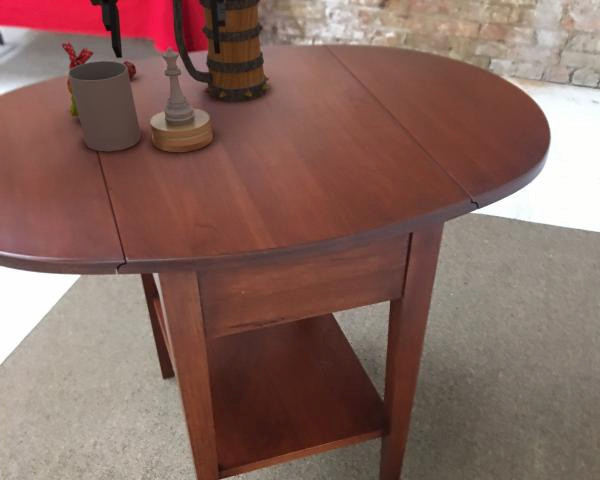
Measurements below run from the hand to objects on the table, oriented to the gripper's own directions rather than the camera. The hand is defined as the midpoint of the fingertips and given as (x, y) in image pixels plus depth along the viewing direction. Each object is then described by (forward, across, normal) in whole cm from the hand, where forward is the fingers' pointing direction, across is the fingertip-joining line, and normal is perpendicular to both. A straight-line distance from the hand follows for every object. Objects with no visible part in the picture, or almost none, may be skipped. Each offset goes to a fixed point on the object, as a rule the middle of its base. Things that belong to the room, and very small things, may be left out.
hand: (167, 50), depth 87 cm
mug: (-6, -7, -25) cm, 26 cm away
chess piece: (+6, 0, -9) cm, 11 cm away
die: (-13, +11, -32) cm, 36 cm away
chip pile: (+8, 0, -11) cm, 13 cm away
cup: (+7, +11, -12) cm, 18 cm away
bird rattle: (-1, +17, -20) cm, 26 cm away
